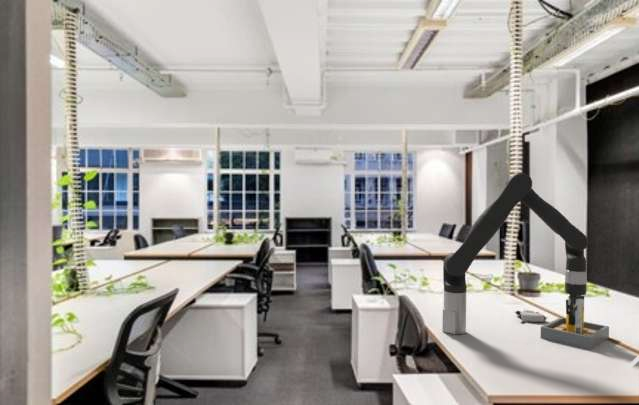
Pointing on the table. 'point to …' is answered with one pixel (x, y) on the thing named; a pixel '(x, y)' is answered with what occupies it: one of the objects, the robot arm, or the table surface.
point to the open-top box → (573, 338)
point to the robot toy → (530, 316)
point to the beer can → (577, 318)
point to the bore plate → (585, 332)
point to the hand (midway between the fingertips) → (574, 323)
